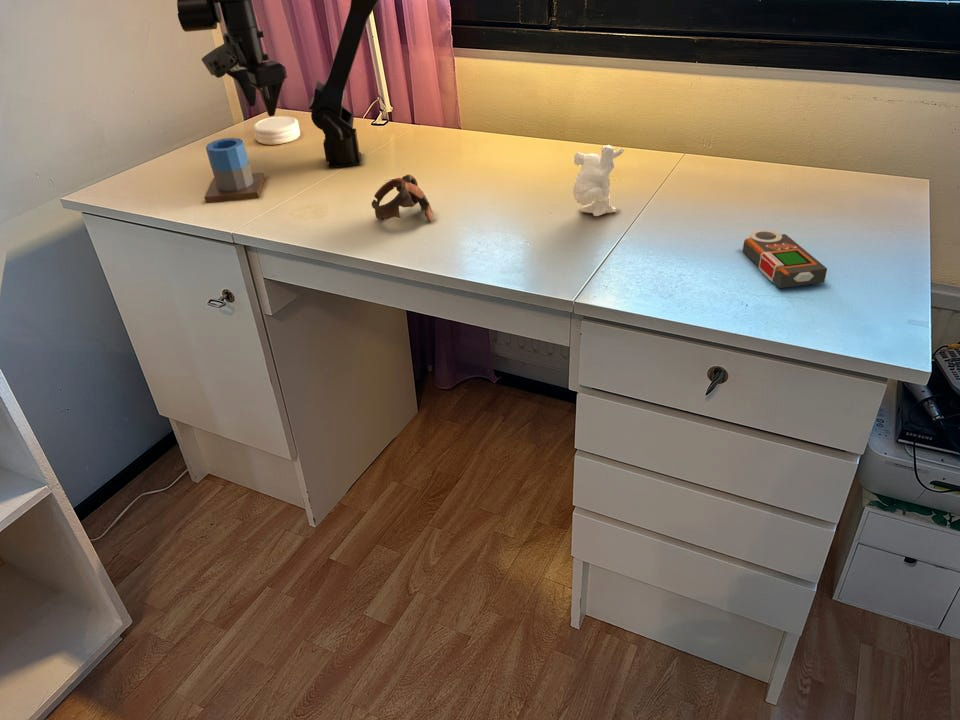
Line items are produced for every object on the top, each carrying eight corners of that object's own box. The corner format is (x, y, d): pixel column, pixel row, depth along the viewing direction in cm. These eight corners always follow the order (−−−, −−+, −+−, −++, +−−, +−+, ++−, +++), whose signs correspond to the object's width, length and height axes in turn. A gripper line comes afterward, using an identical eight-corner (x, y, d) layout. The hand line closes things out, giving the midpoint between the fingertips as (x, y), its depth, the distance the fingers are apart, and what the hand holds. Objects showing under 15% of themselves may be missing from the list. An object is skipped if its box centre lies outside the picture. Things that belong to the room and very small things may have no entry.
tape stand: (265, 177, 148) (256, 139, 143) (258, 197, 140) (248, 157, 135) (215, 182, 148) (204, 143, 143) (205, 202, 140) (193, 162, 135)
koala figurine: (626, 208, 128) (630, 141, 121) (610, 223, 123) (614, 154, 116) (582, 199, 132) (584, 134, 125) (565, 214, 127) (566, 147, 120)
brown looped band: (435, 232, 125) (407, 198, 120) (390, 251, 129) (361, 219, 124) (441, 187, 133) (415, 154, 127) (399, 207, 137) (372, 175, 132)
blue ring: (250, 156, 144) (245, 136, 141) (245, 169, 138) (239, 148, 136) (215, 159, 143) (209, 139, 141) (208, 172, 138) (202, 152, 135)
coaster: (309, 132, 169) (306, 117, 167) (283, 147, 162) (279, 131, 160) (274, 128, 173) (270, 113, 171) (247, 143, 166) (243, 127, 164)
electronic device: (778, 225, 114) (829, 267, 102) (775, 243, 116) (825, 286, 104) (737, 230, 114) (782, 272, 101) (734, 247, 115) (779, 291, 103)
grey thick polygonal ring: (255, 175, 146) (250, 156, 144) (250, 189, 141) (245, 169, 138) (220, 179, 146) (215, 159, 143) (214, 192, 140) (209, 172, 138)
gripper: (182, 28, 138) (205, 111, 148) (219, 43, 126) (242, 132, 135) (237, 17, 144) (256, 97, 153) (278, 30, 131) (296, 117, 141)
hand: (261, 110), depth 145 cm, fingers open, 9 cm apart
